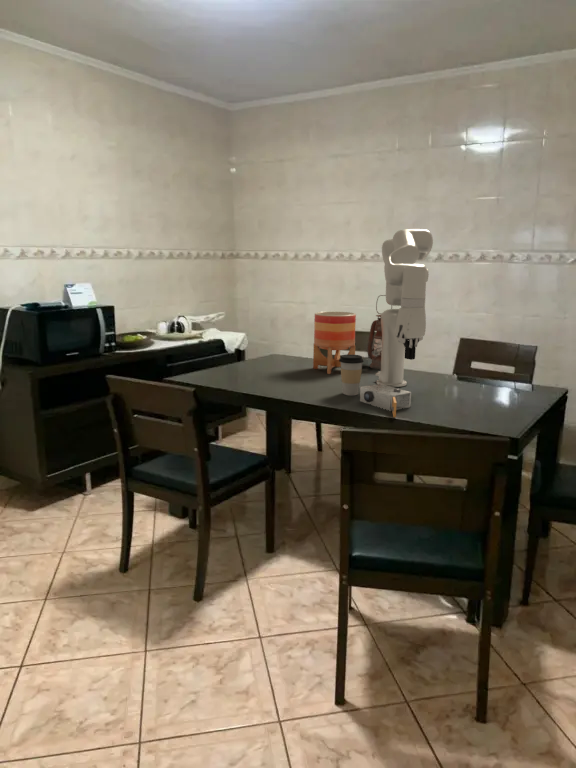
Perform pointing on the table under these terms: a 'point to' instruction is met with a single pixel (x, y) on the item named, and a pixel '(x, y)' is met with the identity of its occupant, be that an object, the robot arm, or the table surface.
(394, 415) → the side door
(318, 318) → the planter
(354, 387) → the coffee cup
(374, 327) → the lantern
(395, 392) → the camera case
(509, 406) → the table surface
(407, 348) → the robot arm
